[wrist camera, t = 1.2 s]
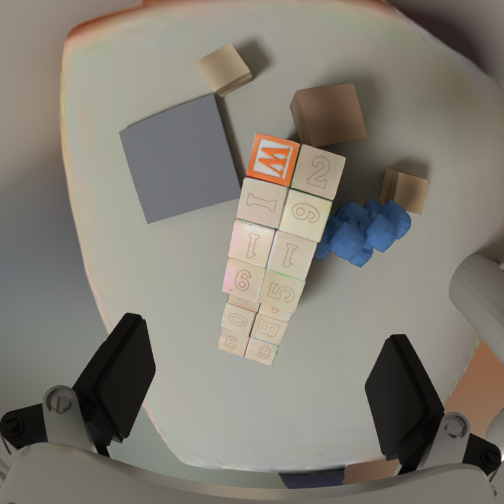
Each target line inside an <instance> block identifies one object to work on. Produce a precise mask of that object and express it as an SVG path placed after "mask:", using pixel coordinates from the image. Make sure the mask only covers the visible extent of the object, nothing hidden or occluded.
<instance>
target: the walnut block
mask: <svg viewBox="0 0 504 504" xmlns="http://www.w3.org/2000/svg"><path fill="white" fill-rule="evenodd" d="M290 108H291V112H292V116H293V119H294V123H295V126H296V130H297V134H298V138H299V142H300V144H302V145H303V144H305V145H308V146H311V147H319V146H324V145H330V144H336V143H341V142H348V141H354V140H360V139H367V138H368V136H367V132H366V128H365V123H364V119H363V115H362V112H361V108H360V104H359V100H358V97H357V93H356V90H355V87H354V83H347V84H338V85H330V86H323V87H316V88H309V89H303V90H298V91H296V93H295V95H294V97H293V100H292V102H291V104H290Z"/></svg>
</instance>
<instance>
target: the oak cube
mask: <svg viewBox="0 0 504 504" xmlns="http://www.w3.org/2000/svg"><path fill="white" fill-rule="evenodd" d="M427 185H428V180H426V179H423V178H420V177H417V176H413V175H410V174H406V173H403V172H399V171H395V170H391V169H387V168H385V171H384V177H383V183H382V189H381V194H380V199H379V200H380V201H381V202H383V203H386V202H387V201H388V200H389V199H390V200H392V201H394V202H395V203H397V204H398V205H399V206H401V207H402V208H403V210H404V211H408V212H412V213H417V214H421V213H422V209H423V204H424V200H425V195H426V190H427Z"/></svg>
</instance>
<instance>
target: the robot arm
mask: <svg viewBox="0 0 504 504" xmlns="http://www.w3.org/2000/svg"><path fill="white" fill-rule="evenodd" d="M503 270H504V261H503V262H501V263H499V264H497V263H496V262H495V261H493V260H492V259H487V258H486V257H485V256H483V255H481V254H473V255H471V256H469V257H467V258H466V259H465V260H463V261H462V263H461V264H460V265H459V266H458V268H457V269H456V270H455V272H454V274H453V276H452V279H451V282H450V286H449V297H450V300H451V302H452V303H453V304H454V305H455V306H456V308H457V309H458V310H459V311H460V312H461V313H462V314H463V316H464V317H465V318H466V319H467V320H468V322H469V323H470V324H471V325H472V326H473V328H474V329H475V330H476V331H477V332H478V334H479V335H480V336H481V338H482V339H483V340H484V341H485V343H486V344H487V345H488V346H489V348H490V349H491V350H492V352H493V353H494V355H495V356H496V357H497V359H498V360H499V361H500V363H502V365H504V271H503ZM155 371H156V366H155V362H154V358H153V353H152V349H151V344H150V339H149V334H148V329H147V324H146V321H145V319H142V316H141V315H138V314H133V313H126V314H125V315H124V316H123V317H122V319H121V320H120V321H119V323H118V324H117V326H116V327H115V328H114V330H113V331H112V332H111V334H110V335H109V337H108V338H107V340H106V341H104V342H103V343H102V345H101V346H100V347H99V349H98V350H97V352H96V353H95V355H94V356H93V357H92V359H91V360H90V362H89V363H88V365H87V366H86V368H85V369H84V371H83V372H82V374H81V375H80V377H79V378H78V380H77V381H76V383H75V384H74V386H73V387H72V388H70V387H68V386H64V385H59V386H54V387H52V388H50V389H49V390H47V392H46V393H45V394H44V396H43V399H42V403H41V404H38V405H33V406H30V407H26V408H22V409H17V410H14V411H10V412H7V413H6V414H5V415H4V416H3V417H2V419H1V421H0V504H504V408H503V409H502V410H501V411H500V412H499V413H498V414H497V416H495V418H494V419H493V420H492V421H491V423H490V424H489V427H488V428H487V431H486V437H485V440H484V439H482V438H480V437H478V436H476V435H473V434H472V433H470V424H469V422H468V420H467V418H466V417H465V416H464V415H462V414H460V413H458V412H449V413H447V414H446V415H445V414H444V412H443V411H444V407H443V405H442V403H441V401H440V399H439V397H438V394H437V392H436V390H435V388H434V386H433V384H432V382H431V380H430V378H429V376H428V374H427V372H426V371H425V369H424V367H423V365H422V363H421V361H420V359H419V357H418V356H417V354H416V352H415V350H414V348H413V346H412V345H411V343H410V341H409V339H408V338H407V336H406V335H405V334H393V335H391V336H390V337H389V338H387V339H386V341H385V343H384V345H383V348H382V350H381V352H380V354H379V356H378V359H377V361H376V363H375V365H374V367H373V369H372V371H371V373H370V375H369V377H368V379H367V381H366V383H365V392H366V395H367V398H368V402H369V405H370V409H371V413H372V416H373V420H374V424H375V428H376V431H377V435H378V439H379V443H380V448H381V452H382V454H383V455H386V460H387V461H389V460H394V459H399V462H400V464H399V466H398V468H397V470H396V471H395V473H394V475H393V476H392V477H389V478H384V479H379V480H374V481H369V482H364V483H357V484H351V485H343V486H334V487H323V488H309V489H257V488H242V487H232V486H223V485H216V484H209V483H202V482H197V481H191V480H186V479H181V478H177V477H172V476H168V475H163V474H160V473H156V472H152V471H149V470H146V469H142V468H138V467H135V466H132V465H129V464H126V463H123V462H120V461H117V460H114V458H113V456H112V453H111V451H110V448H109V445H110V443H111V440H113V441H116V442H119V443H122V441H123V439H124V438H127V437H128V436H129V434H130V431H131V429H132V427H133V424H134V422H135V419H136V417H137V414H138V412H139V410H140V407H141V405H142V403H143V400H144V398H145V396H146V393H147V391H148V389H149V387H150V384H151V382H152V380H153V377H154V375H155Z"/></svg>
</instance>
